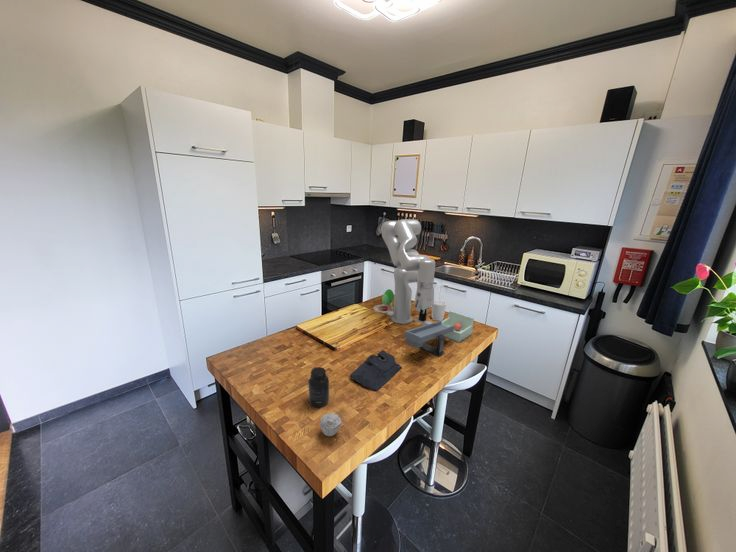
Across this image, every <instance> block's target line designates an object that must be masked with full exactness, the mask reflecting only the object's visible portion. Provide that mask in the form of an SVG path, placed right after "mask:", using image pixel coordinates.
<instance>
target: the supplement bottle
mask: <svg viewBox="0 0 736 552" xmlns="http://www.w3.org/2000/svg"><path fill="white" fill-rule="evenodd" d="M326 373H327V372H326V369H325V368H324V367H322V366H321V367H320V366H317V367H314V368H312V369H311V370H310V377H309V378H308V383H307V385H308V386H307V387H308V402H309V405H310V406H312V407H313V408H322V407H325V406H326V405H327V404H329V401H330V384H329V383H330V381H329V377H328V376H327V375H326Z"/></svg>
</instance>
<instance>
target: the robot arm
mask: <svg viewBox="0 0 736 552" xmlns="http://www.w3.org/2000/svg"><path fill="white" fill-rule="evenodd" d="M380 231H381V237H382V240H383V242H384V243H385V245H386V247H387V249H388V251H389V256H390V258H391V261H392V264H393V265H394V267H396V268H395V269H394V270H393V278H394V280H393V281H394V299H393V309H392V311H387V310H385V311H386V313H385V314H386V316H390V317H389V318H390V320H391V322H393V323H395V324H400V325H407V324H410V323H413V317H412V316H411V310H412V309H411V308H412V298H413V297H412V293H413V291H412V288H411V286H410V285H409V284H412V283H413V284H414V283H416V284H417V285H416V287H417V288H416V292H415V298H414V308H415V312H417V313H418V318H419V320H421V321H426V320H427V314H428V311H429V308H432V306H433V304H434V300H435V289H434V284H435V283H434V282H435V272H436V261H435V259H433V258H430V257H429V256H428V255H426V254H420V253H419V252H418V251H417V250H416V249H412V248H414V247H415V246H416V245H417V244H418V238H417V236H418V235H419V234H421V232H422V225H421V223H420V221H419V220H418V219H406V218H405V219H404V218H403V219H399V220H388V221H385V222H383V223H382V225H381V230H380Z"/></svg>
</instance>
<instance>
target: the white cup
mask: <svg viewBox="0 0 736 552" xmlns="http://www.w3.org/2000/svg"><path fill="white" fill-rule="evenodd" d="M446 306H447V302H445V301H444V300H441V299H440V300H439V299H436V300H435V299H434V304H433V306H431V319H432V320H433V321H435V322H438V321H443V320H444V317H445V313H446Z"/></svg>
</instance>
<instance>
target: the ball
mask: <svg viewBox="0 0 736 552" xmlns="http://www.w3.org/2000/svg"><path fill="white" fill-rule="evenodd" d="M454 326H455V327H454V329H455V330H457V331H458V330H460V329H461V324H459V323H455V324H454Z"/></svg>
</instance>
